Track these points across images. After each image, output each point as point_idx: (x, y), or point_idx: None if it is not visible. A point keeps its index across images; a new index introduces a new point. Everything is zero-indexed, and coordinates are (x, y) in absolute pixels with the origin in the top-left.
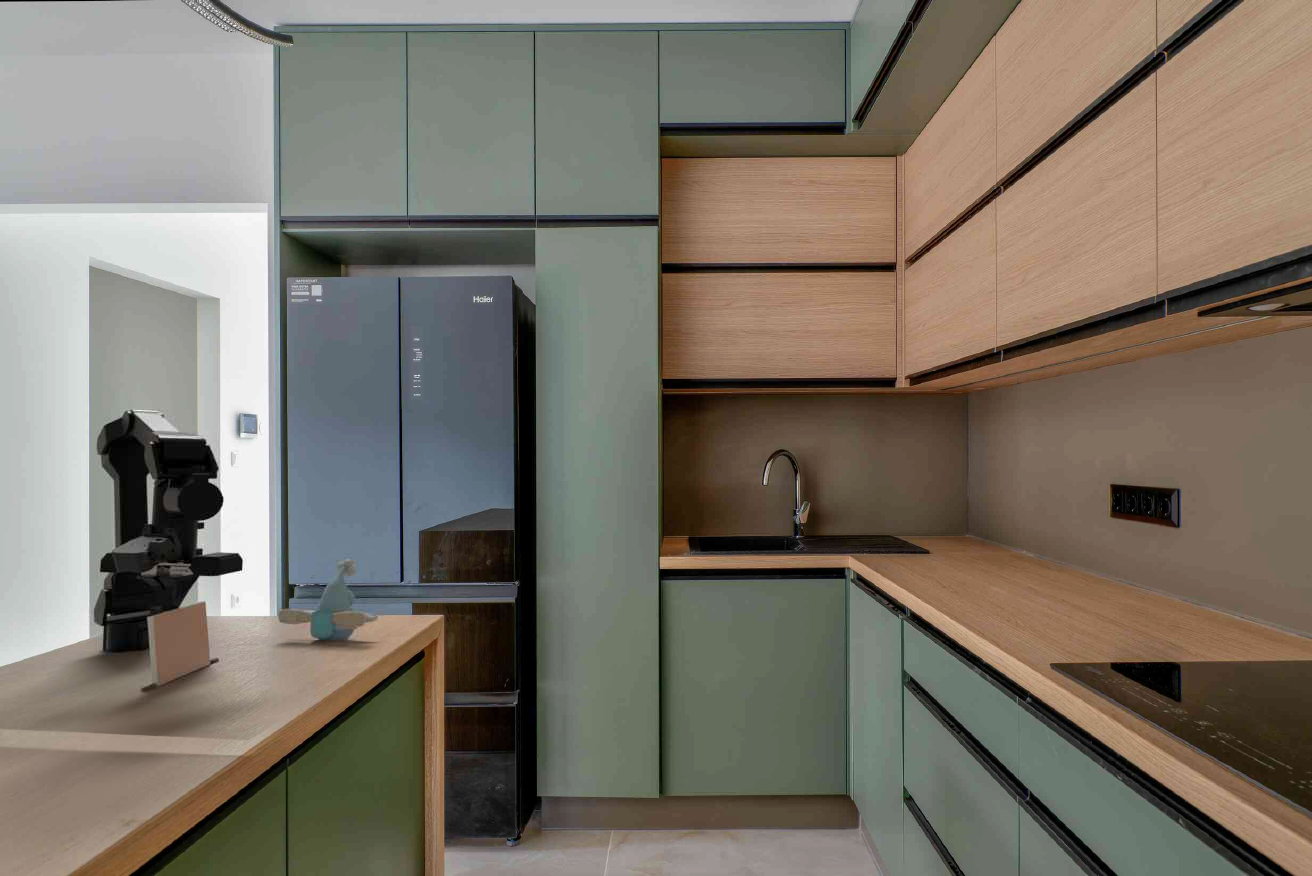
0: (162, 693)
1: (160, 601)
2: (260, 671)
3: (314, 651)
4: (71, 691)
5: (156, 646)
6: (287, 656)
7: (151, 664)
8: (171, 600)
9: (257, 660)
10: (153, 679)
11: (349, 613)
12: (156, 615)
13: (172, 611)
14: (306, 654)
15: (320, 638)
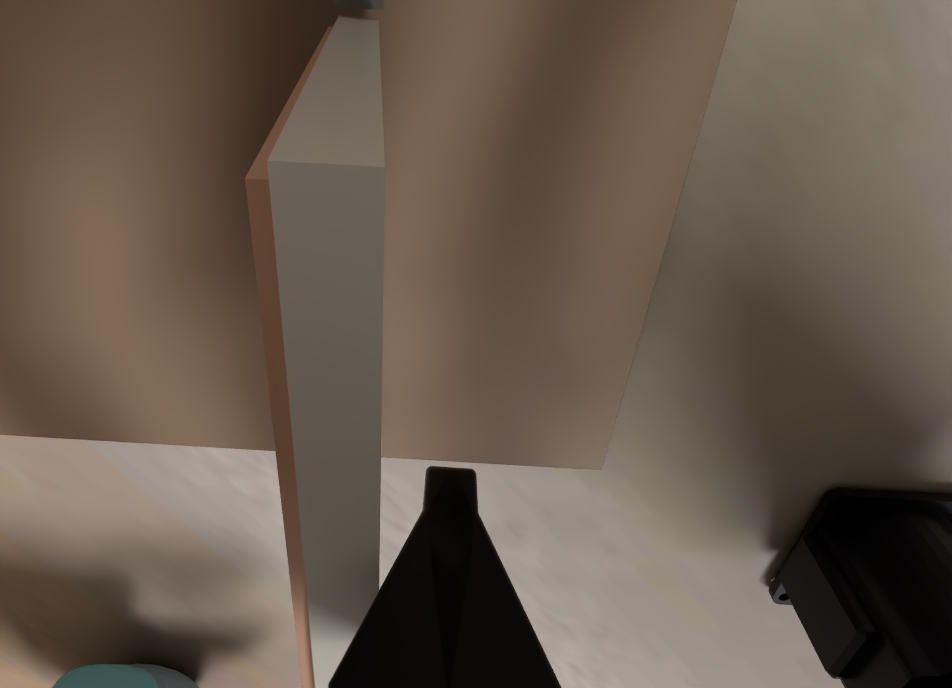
0: None
1: (527, 660)
2: None
3: (141, 604)
4: (915, 109)
5: (308, 71)
6: (199, 558)
7: (373, 39)
8: (336, 680)
9: None
10: (366, 23)
11: None
12: (275, 249)
13: (305, 505)
14: (141, 578)
15: (111, 664)
